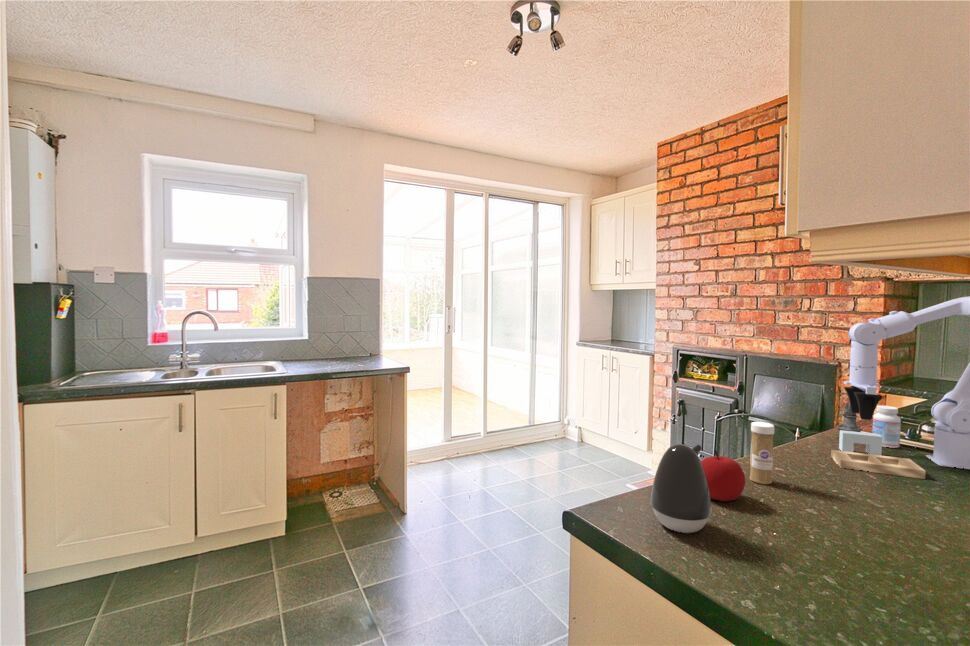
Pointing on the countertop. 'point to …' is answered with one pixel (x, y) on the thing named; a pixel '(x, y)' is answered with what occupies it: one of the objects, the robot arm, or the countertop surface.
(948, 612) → the countertop surface
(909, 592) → the countertop surface
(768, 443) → the sprinkles bottle
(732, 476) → the apple
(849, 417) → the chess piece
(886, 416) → the pill bottle
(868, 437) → the pale blue u-shaped block
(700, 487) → the grey egg-shaped body
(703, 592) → the countertop surface
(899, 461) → the wooden slotted board
